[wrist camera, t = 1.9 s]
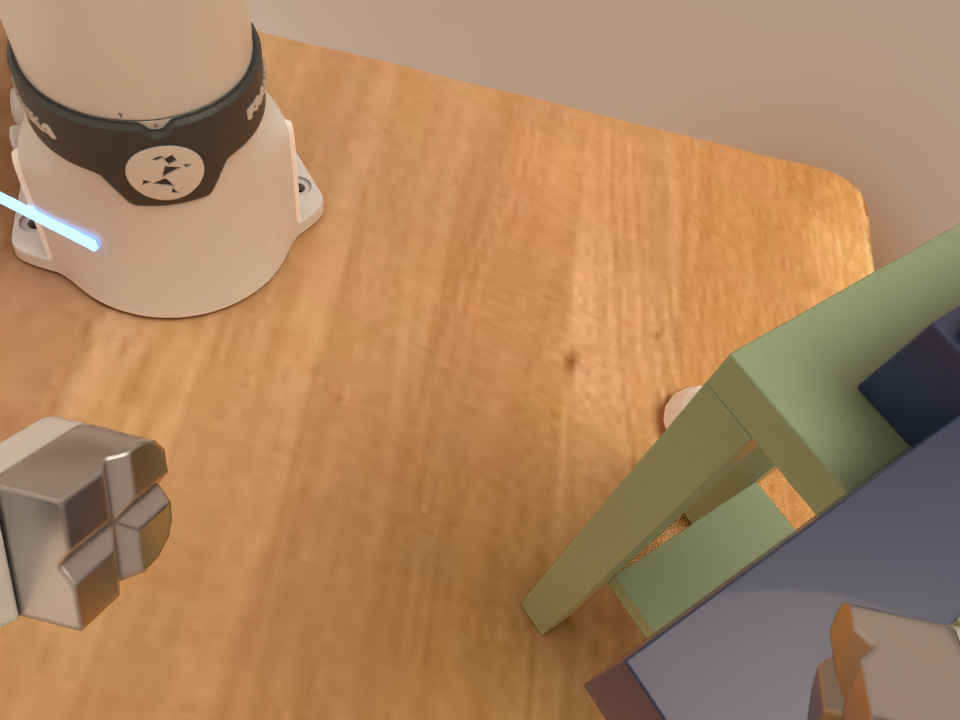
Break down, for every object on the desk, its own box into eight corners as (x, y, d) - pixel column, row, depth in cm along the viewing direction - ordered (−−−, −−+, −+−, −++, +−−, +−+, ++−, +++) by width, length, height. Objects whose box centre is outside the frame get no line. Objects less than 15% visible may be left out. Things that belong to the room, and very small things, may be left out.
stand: (658, 818, 39) (1092, 778, 17) (520, 603, 44) (729, 353, 22) (837, 664, 45) (1338, 487, 23) (699, 486, 49) (1010, 193, 27)
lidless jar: (684, 379, 53) (647, 430, 50) (703, 355, 50) (664, 408, 48) (749, 425, 52) (714, 480, 49) (772, 403, 50) (736, 460, 47)
